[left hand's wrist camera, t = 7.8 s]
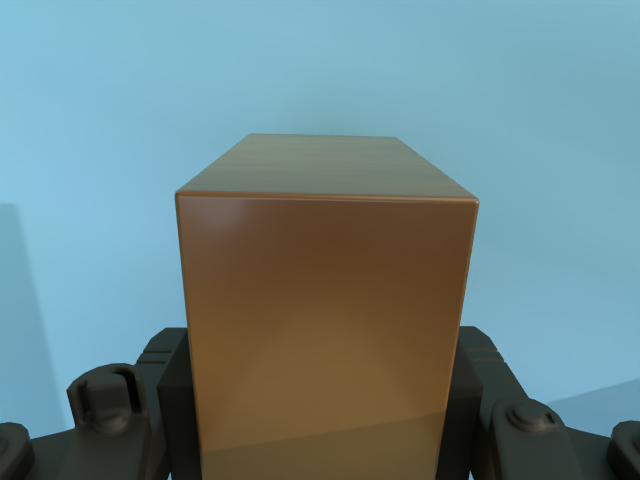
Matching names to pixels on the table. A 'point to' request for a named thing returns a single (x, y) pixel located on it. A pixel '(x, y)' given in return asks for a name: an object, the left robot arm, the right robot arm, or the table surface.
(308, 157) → the bar
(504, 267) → the table surface
